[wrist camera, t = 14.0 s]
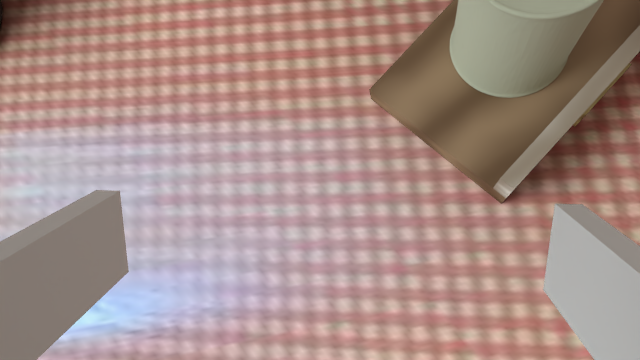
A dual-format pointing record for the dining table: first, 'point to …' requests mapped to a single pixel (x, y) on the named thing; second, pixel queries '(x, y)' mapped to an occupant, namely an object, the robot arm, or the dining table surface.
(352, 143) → the dining table surface
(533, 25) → the can
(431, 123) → the shelf
